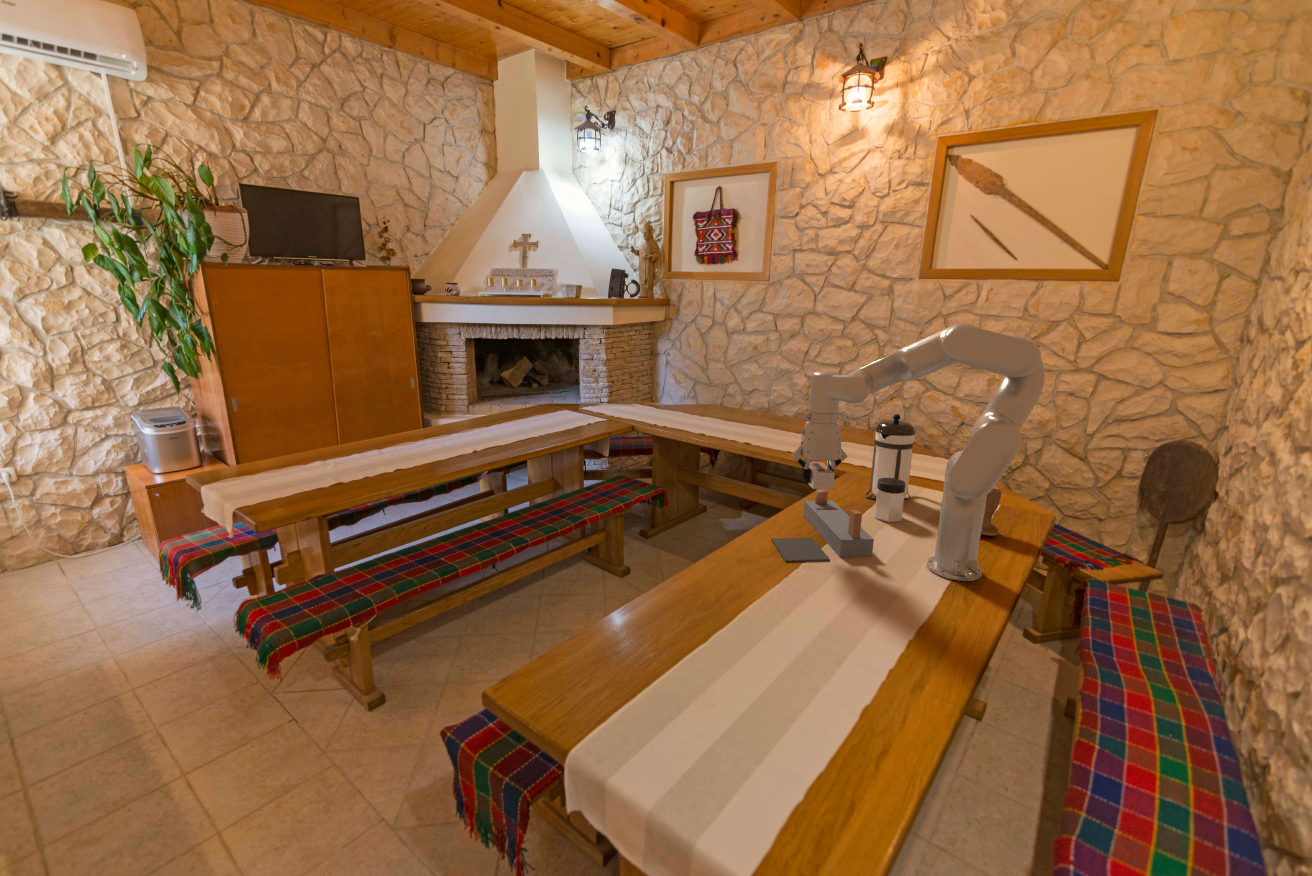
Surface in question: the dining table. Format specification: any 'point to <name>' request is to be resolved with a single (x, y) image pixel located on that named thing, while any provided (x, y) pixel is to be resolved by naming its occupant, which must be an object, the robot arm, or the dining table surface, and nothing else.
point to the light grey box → (820, 476)
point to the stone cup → (990, 512)
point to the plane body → (838, 526)
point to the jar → (889, 499)
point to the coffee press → (892, 452)
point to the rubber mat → (799, 549)
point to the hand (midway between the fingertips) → (817, 481)
